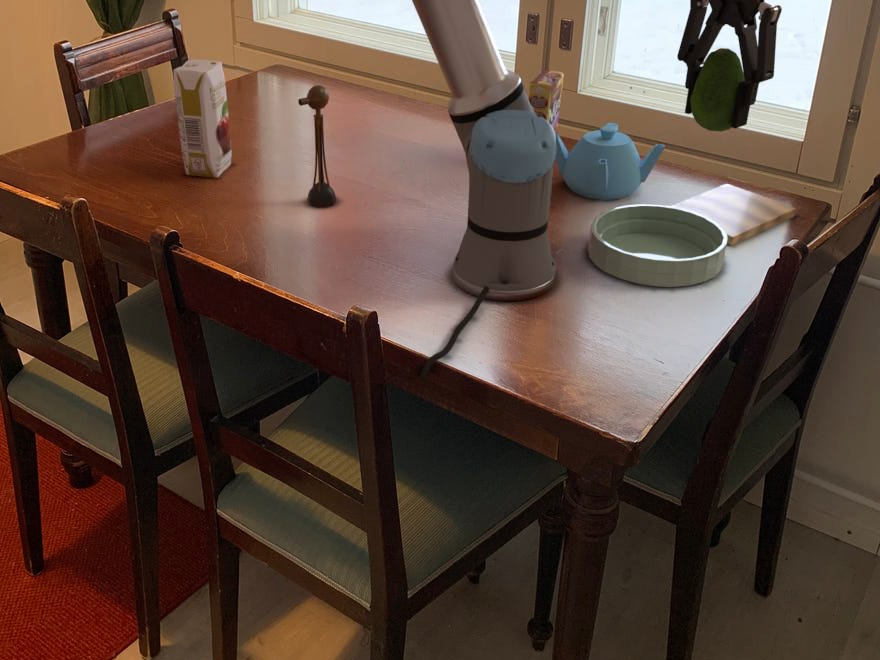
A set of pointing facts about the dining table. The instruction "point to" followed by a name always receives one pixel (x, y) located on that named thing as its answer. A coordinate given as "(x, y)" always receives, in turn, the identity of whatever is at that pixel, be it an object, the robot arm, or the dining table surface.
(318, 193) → the wooden tabletop sculpture
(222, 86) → the juice carton
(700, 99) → the avocado
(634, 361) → the dining table surface
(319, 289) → the dining table surface
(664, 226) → the bowl
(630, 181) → the teapot
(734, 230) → the board
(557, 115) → the candy box
